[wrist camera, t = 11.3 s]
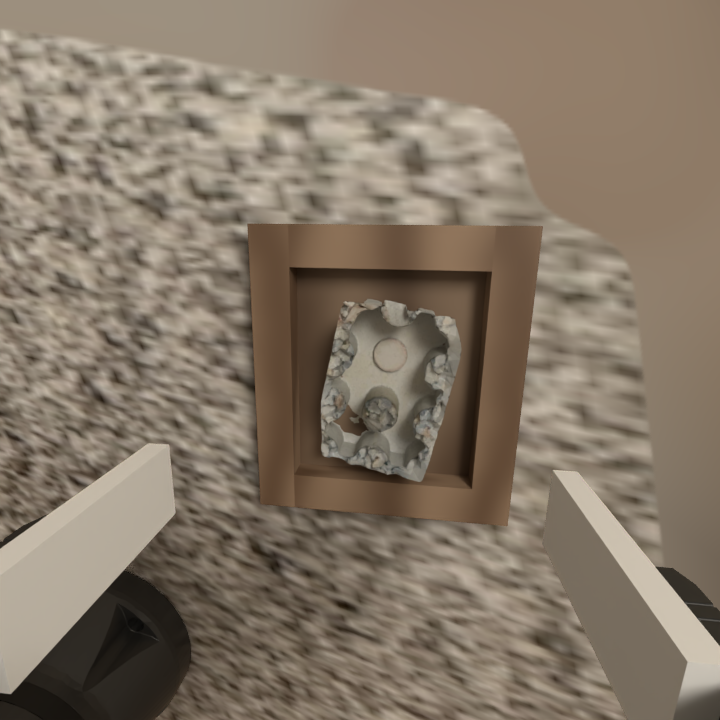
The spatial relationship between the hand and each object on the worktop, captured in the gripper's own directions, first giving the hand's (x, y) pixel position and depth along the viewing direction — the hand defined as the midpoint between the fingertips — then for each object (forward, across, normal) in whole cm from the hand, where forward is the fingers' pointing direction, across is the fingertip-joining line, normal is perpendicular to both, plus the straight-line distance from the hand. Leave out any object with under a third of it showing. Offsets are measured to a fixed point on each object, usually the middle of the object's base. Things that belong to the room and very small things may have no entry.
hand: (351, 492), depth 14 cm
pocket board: (+15, 0, 0) cm, 15 cm away
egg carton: (+14, +1, 0) cm, 14 cm away
